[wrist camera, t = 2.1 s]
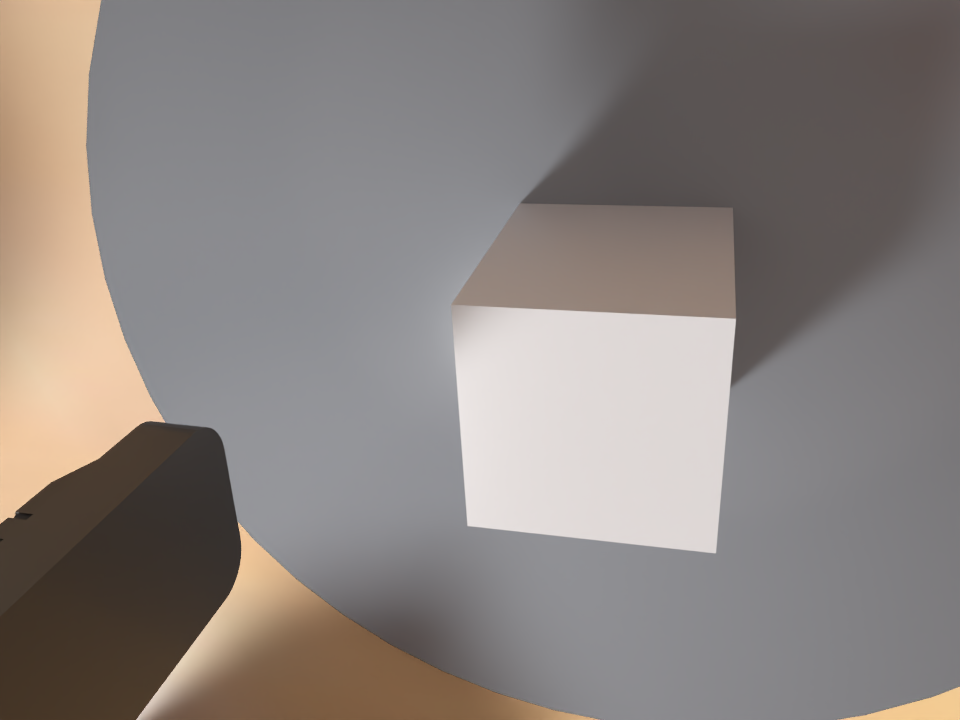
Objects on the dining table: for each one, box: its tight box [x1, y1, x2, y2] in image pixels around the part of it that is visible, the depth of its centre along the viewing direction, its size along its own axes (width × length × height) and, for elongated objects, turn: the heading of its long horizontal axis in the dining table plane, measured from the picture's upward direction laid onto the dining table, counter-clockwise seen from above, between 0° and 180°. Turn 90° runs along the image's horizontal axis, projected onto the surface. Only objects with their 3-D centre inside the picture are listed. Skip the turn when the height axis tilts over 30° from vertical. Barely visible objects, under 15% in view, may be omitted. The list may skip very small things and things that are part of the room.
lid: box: [86, 0, 960, 720], centre depth 13 cm, size 19×19×5 cm
